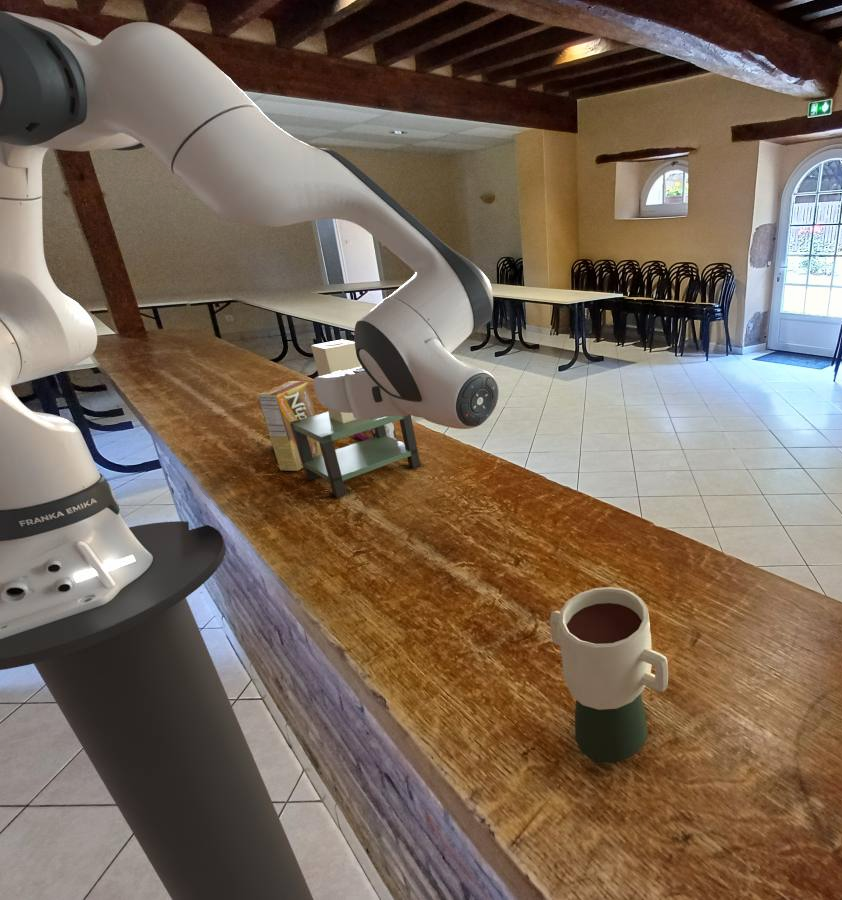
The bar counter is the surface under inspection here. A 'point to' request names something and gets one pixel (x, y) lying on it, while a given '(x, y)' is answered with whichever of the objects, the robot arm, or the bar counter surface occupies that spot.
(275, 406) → the candy box
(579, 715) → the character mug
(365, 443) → the rack
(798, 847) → the bar counter surface
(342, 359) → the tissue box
